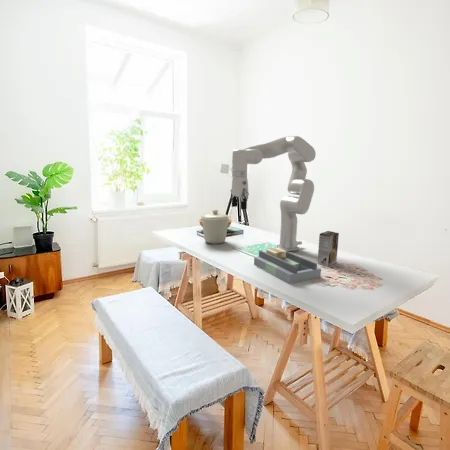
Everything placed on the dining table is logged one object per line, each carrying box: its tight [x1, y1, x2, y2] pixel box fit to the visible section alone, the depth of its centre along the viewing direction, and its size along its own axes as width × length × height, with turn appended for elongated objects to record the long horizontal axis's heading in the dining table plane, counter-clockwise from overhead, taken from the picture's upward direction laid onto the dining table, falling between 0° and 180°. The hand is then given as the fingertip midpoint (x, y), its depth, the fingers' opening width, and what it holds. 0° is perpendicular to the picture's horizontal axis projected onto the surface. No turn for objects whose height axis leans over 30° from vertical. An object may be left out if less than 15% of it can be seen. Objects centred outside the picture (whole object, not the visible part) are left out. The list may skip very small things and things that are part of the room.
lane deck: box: [253, 248, 322, 284], centre depth 155 cm, size 18×28×7 cm, turn 28°
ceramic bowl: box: [198, 218, 232, 229], centre depth 239 cm, size 30×24×8 cm
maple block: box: [265, 247, 286, 260], centre depth 161 cm, size 7×7×4 cm
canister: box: [200, 209, 230, 245], centre depth 204 cm, size 18×18×21 cm
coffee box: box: [316, 230, 339, 267], centre depth 166 cm, size 9×6×16 cm
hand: (238, 207), depth 167 cm, fingers open, 9 cm apart
